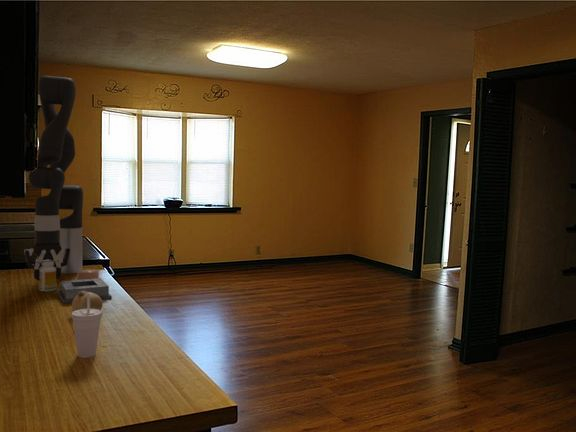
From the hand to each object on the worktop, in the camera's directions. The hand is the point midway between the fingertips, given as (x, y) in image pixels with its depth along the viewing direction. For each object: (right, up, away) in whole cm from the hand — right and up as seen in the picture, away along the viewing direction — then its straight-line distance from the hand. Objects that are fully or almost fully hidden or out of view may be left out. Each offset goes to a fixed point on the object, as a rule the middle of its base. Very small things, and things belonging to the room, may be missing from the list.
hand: (47, 279), depth 173 cm
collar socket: (+14, -5, -6) cm, 16 cm away
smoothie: (+35, -10, -57) cm, 67 cm away
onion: (+23, -7, -26) cm, 36 cm away
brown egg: (+10, -3, +9) cm, 14 cm away
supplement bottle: (0, -4, 0) cm, 4 cm away
